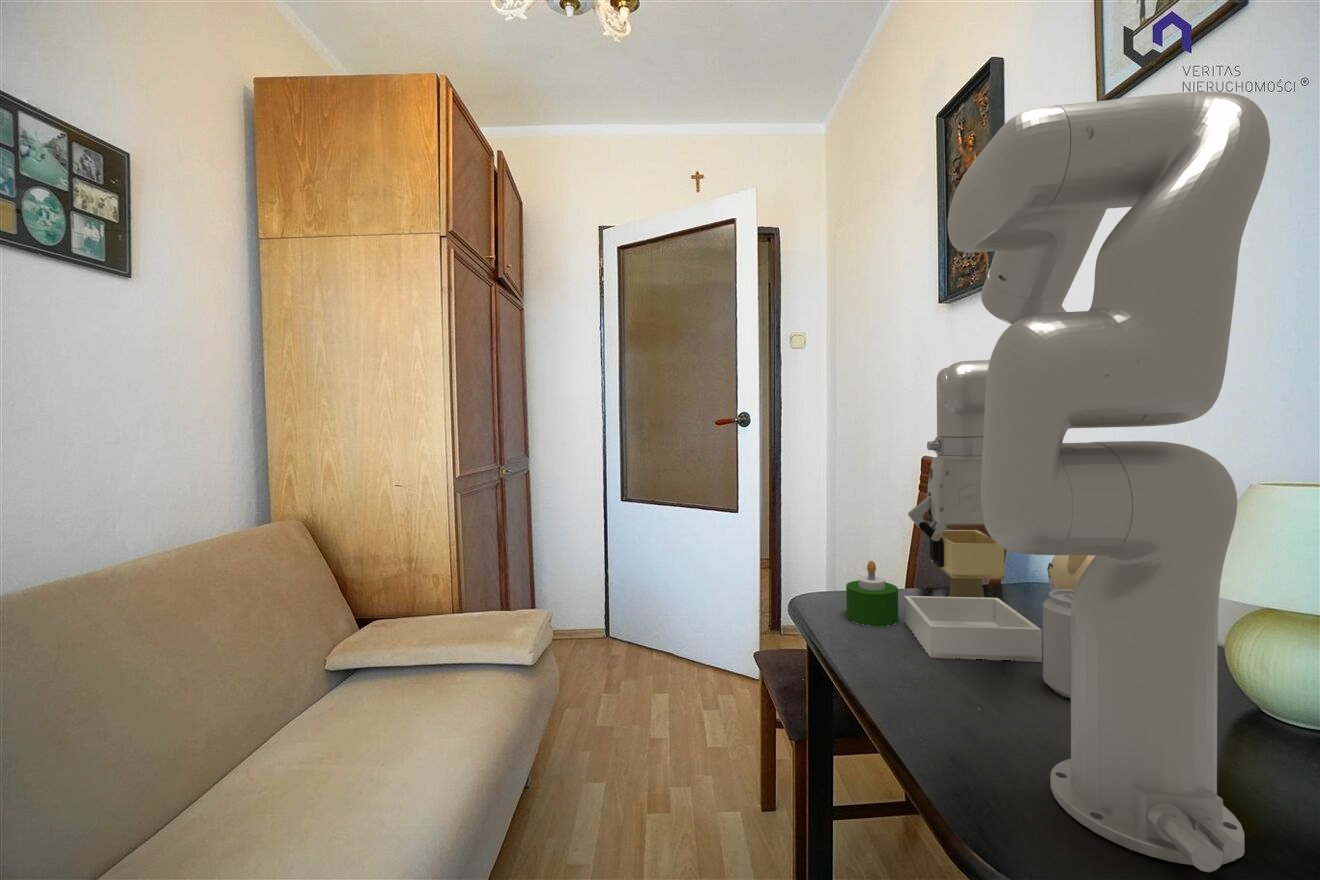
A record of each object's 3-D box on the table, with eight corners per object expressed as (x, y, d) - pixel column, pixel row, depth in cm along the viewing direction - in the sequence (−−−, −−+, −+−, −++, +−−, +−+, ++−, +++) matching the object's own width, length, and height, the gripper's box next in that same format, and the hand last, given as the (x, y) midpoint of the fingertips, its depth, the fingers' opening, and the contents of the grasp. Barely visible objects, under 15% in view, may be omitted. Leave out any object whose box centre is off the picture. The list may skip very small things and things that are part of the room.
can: (1132, 709, 67) (1133, 605, 66) (1060, 704, 68) (1059, 603, 68) (1097, 680, 74) (1097, 587, 74) (1032, 676, 75) (1032, 585, 75)
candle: (837, 619, 99) (836, 561, 99) (862, 607, 104) (861, 552, 104) (883, 631, 93) (882, 569, 92) (907, 618, 98) (906, 560, 98)
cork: (987, 605, 104) (986, 544, 103) (985, 615, 99) (984, 551, 98) (949, 600, 107) (949, 541, 107) (946, 610, 102) (945, 548, 102)
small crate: (1004, 579, 82) (1004, 544, 82) (951, 578, 84) (951, 543, 83) (977, 561, 92) (977, 530, 92) (930, 560, 93) (930, 530, 93)
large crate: (1041, 661, 80) (1041, 629, 80) (930, 657, 82) (930, 626, 82) (997, 625, 94) (997, 597, 94) (904, 622, 96) (903, 595, 96)
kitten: (1087, 612, 99) (1086, 525, 99) (1155, 631, 90) (1155, 535, 89) (1025, 625, 94) (1025, 533, 93) (1091, 647, 84) (1091, 545, 84)
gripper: (910, 451, 85) (911, 571, 85) (1039, 449, 82) (1039, 573, 83) (897, 448, 92) (898, 558, 93) (1016, 446, 89) (1016, 560, 90)
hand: (965, 564), depth 88 cm, fingers closed on small crate, 7 cm apart
